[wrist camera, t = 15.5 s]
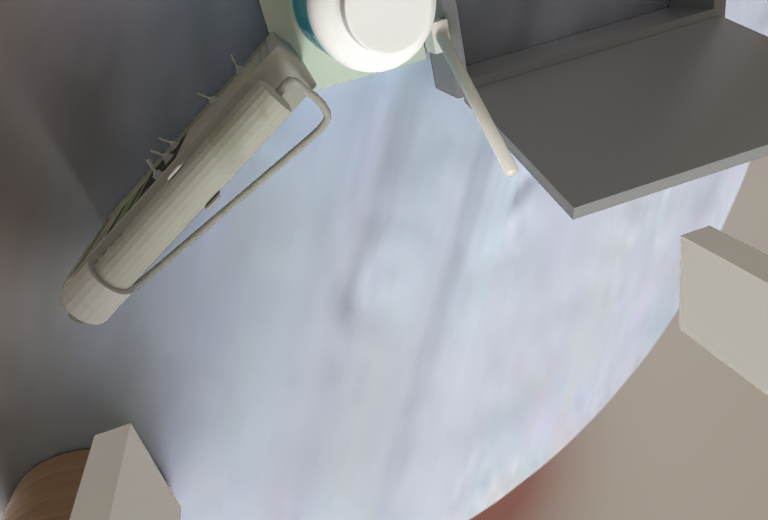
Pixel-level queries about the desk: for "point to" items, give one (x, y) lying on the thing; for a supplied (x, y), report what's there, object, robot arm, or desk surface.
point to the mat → (312, 46)
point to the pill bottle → (366, 30)
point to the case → (617, 102)
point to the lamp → (48, 489)
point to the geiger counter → (191, 179)
